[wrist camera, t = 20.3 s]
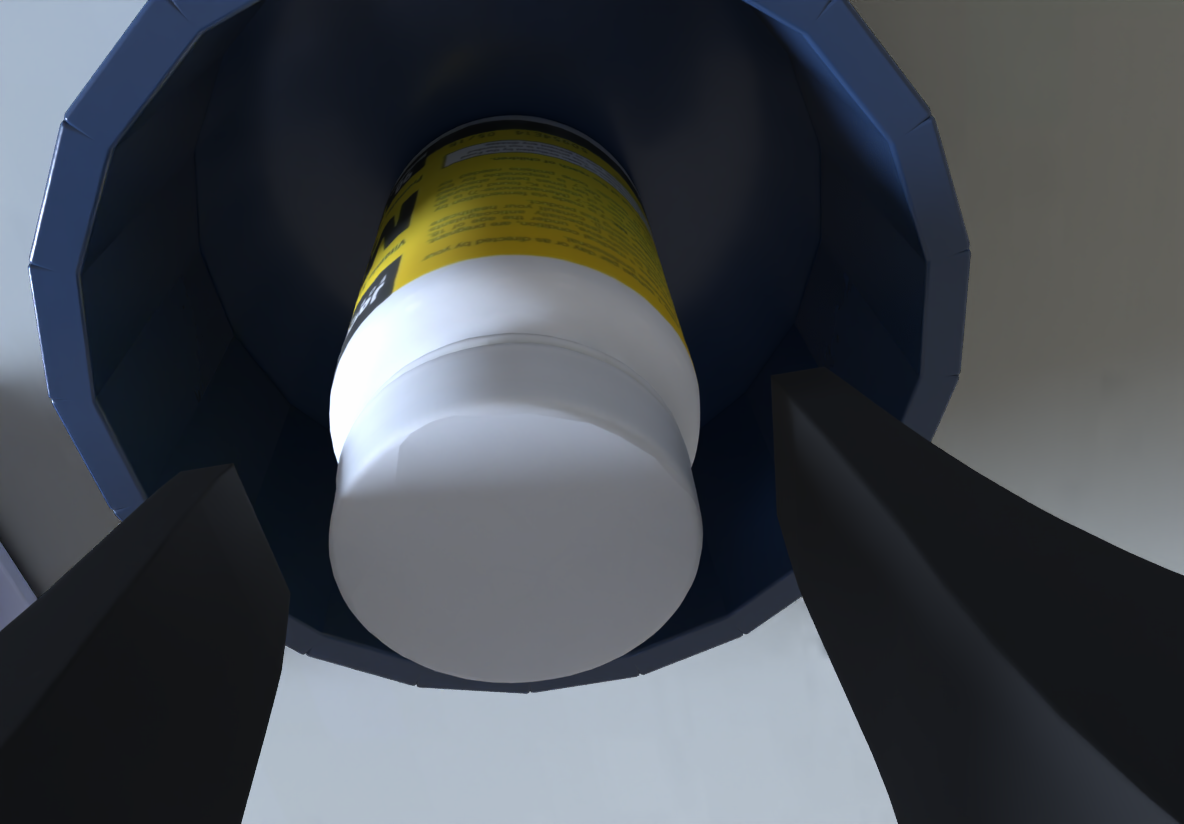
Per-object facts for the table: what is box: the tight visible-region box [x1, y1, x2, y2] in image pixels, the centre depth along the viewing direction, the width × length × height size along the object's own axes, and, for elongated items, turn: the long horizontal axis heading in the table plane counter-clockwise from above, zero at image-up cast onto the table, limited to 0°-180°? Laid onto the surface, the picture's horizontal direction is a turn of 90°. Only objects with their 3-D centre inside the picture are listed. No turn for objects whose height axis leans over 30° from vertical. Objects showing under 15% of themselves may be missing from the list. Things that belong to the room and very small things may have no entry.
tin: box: [28, 0, 971, 694], centre depth 15 cm, size 12×12×5 cm
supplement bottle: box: [329, 115, 703, 683], centre depth 13 cm, size 5×5×8 cm
